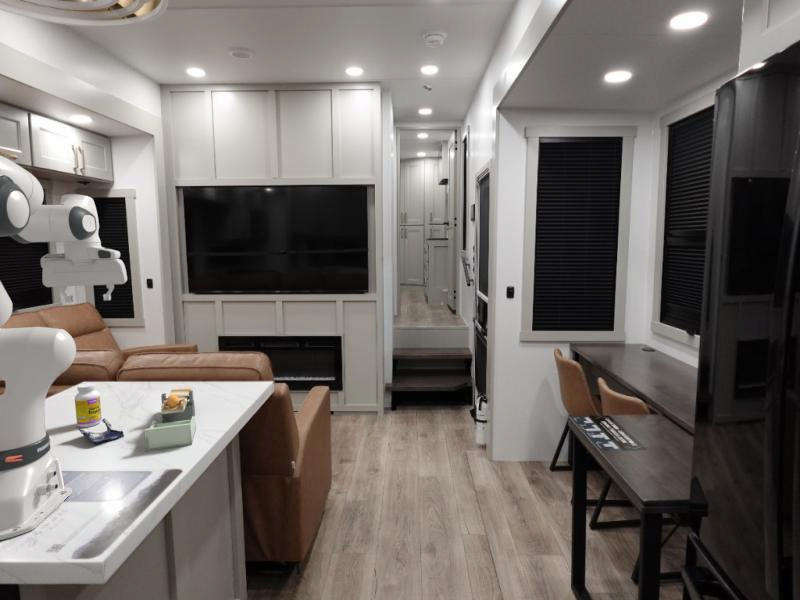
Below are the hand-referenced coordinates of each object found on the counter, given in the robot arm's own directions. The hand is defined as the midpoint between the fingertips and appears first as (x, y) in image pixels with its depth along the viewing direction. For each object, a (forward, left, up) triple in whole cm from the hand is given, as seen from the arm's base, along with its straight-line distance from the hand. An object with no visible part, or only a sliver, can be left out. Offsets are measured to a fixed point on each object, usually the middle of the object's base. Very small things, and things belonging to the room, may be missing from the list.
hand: (88, 301), depth 133 cm
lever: (+6, -20, -36) cm, 42 cm away
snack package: (-2, 0, -41) cm, 41 cm away
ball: (-3, -20, -32) cm, 38 cm away
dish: (-10, -20, -41) cm, 47 cm away
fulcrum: (+6, -20, -41) cm, 46 cm away
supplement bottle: (+13, +7, -41) cm, 44 cm away
